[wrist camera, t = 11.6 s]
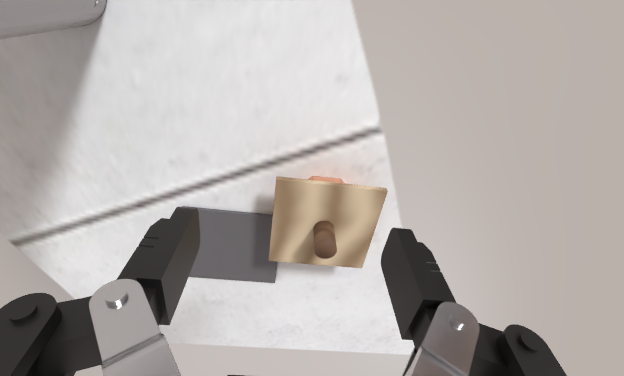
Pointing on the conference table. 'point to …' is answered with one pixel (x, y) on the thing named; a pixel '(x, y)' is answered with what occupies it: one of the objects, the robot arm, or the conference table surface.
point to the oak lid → (323, 222)
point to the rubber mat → (234, 246)
